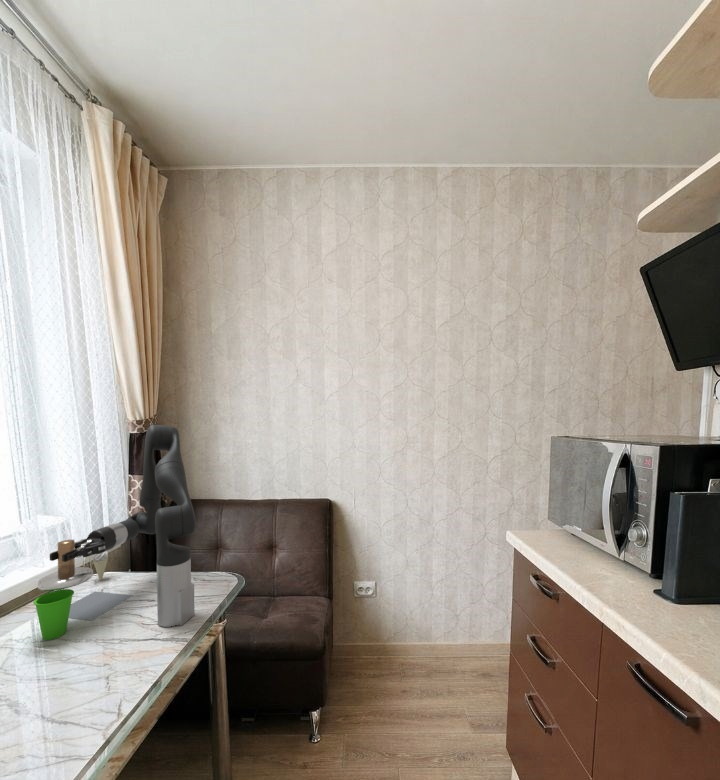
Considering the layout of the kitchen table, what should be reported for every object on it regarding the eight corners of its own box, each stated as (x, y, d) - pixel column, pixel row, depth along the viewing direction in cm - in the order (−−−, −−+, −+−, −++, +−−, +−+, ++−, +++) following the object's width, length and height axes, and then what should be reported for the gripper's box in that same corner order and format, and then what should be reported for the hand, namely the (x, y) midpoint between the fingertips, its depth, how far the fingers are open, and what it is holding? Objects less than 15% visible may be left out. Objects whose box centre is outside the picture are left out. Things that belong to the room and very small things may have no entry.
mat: (133, 596, 134) (133, 595, 134) (91, 622, 119) (91, 620, 119) (95, 592, 138) (95, 591, 138) (49, 617, 122) (49, 615, 122)
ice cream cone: (89, 583, 146) (88, 541, 146) (102, 577, 150) (102, 537, 151) (98, 585, 144) (98, 543, 144) (112, 579, 149) (111, 538, 149)
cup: (39, 650, 106) (39, 607, 106) (29, 638, 111) (29, 598, 111) (79, 633, 113) (79, 594, 113) (67, 623, 118) (67, 586, 119)
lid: (103, 572, 122) (103, 535, 122) (62, 592, 109) (62, 551, 110) (69, 569, 125) (69, 533, 125) (26, 588, 112) (26, 548, 113)
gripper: (90, 525, 133) (37, 543, 116) (125, 527, 130) (76, 546, 113) (90, 548, 133) (37, 569, 116) (126, 550, 129) (76, 572, 113)
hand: (57, 557), depth 115 cm, fingers closed on lid, 4 cm apart
